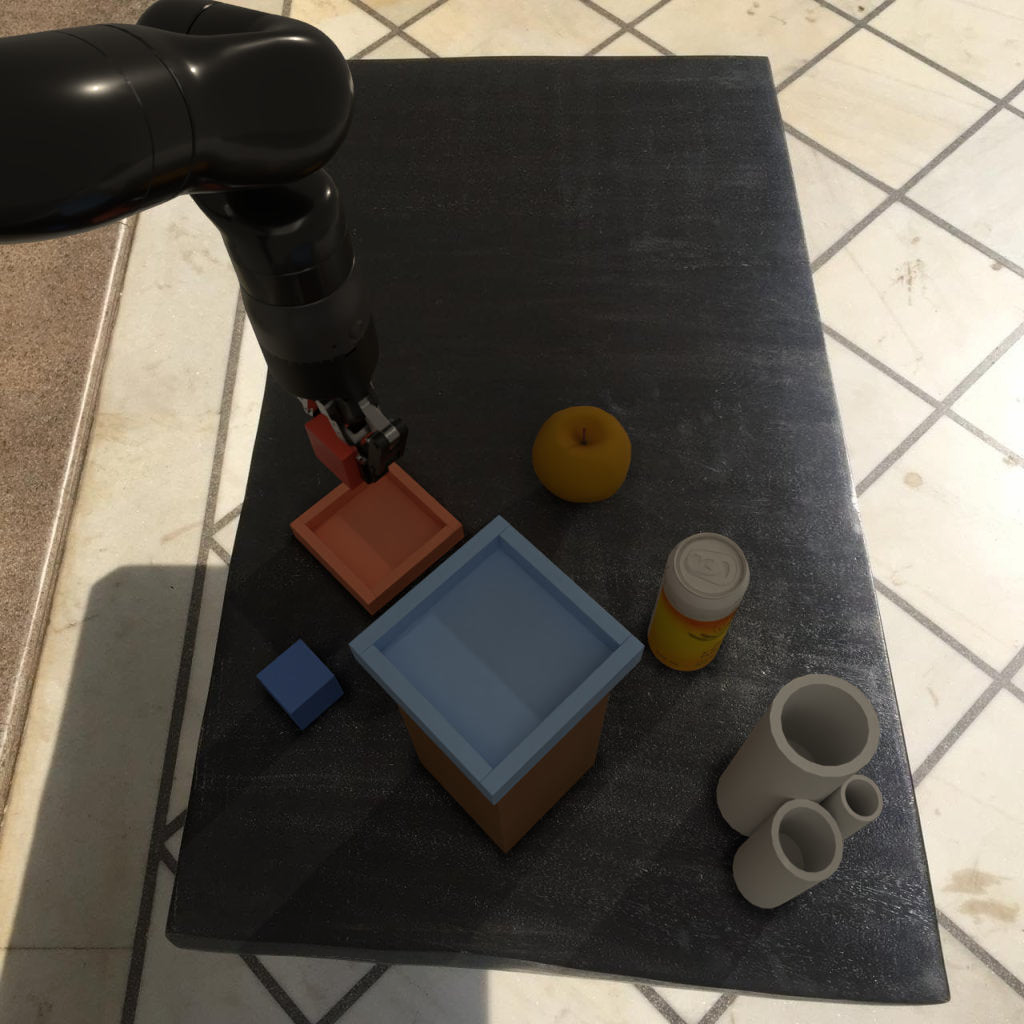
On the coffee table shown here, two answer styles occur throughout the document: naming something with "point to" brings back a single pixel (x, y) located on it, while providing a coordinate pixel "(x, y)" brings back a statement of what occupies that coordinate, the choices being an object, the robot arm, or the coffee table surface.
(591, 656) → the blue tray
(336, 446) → the red block
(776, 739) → the vase
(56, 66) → the robot arm
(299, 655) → the blue block
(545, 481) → the apple
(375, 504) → the red tray
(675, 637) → the beer can
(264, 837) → the coffee table surface
